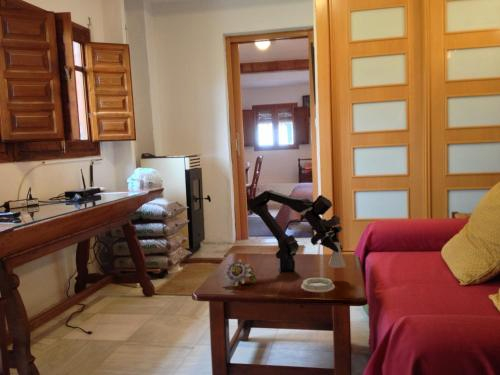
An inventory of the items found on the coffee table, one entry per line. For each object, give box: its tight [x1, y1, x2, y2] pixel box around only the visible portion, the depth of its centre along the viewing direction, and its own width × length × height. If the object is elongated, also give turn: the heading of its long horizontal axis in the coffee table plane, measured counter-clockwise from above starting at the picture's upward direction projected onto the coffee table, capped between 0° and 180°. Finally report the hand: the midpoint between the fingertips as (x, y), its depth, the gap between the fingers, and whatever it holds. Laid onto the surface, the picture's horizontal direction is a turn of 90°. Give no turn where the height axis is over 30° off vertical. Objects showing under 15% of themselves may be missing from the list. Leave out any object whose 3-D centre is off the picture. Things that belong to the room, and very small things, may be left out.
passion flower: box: [222, 258, 257, 287], centre depth 179 cm, size 11×11×12 cm
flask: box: [327, 241, 347, 269], centre depth 179 cm, size 7×7×10 cm
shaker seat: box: [300, 277, 335, 293], centre depth 170 cm, size 13×13×2 cm
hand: (339, 250), depth 178 cm, fingers closed on flask, 3 cm apart
